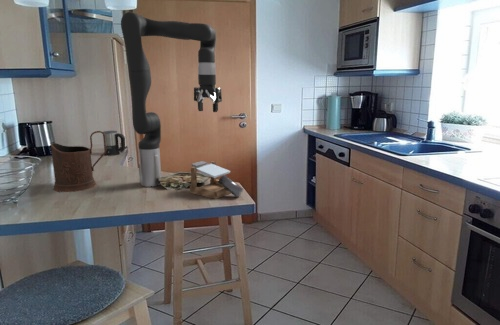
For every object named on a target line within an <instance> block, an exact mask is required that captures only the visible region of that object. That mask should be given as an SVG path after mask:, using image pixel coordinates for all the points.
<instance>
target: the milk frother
mask: <svg viewBox="0 0 500 325" xmlns="http://www.w3.org/2000/svg"><path fill="white" fill-rule="evenodd" d="M103 132H104V134H105V140H106V153H105V154H104V156H115V155H119V154H120V152H122V151H125V150H126V149H127V148H128V145H126V136H124V134H123V133H119V132H118V131H117V130H103ZM119 139H120V145H119ZM102 140H103V142H104V136H103V135H102ZM119 146H120V147H119ZM103 148H104V149H103V150H104V152H105V146H104V145H103ZM104 152H103V153H104Z"/></svg>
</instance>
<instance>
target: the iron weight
mask: <svg viewBox="0 0 500 325" xmlns="http://www.w3.org/2000/svg"><path fill="white" fill-rule="evenodd" d="M218 180H219V181H218V184H220V185H221V186H222V187H224V188H225V189H226V190H228V191H229V192H230V194H232V195H233V196H234V197H236V198H239V197H240V196H241V195H242V193H243V191H244V188H242V187H241V186H240V185H238V184H237V183H236V182H234V180H232V179H231V178H229V177H227V175H226V174H225V175H222V176H220V178H219V179H218Z"/></svg>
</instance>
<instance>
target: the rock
mask: <svg viewBox="0 0 500 325" xmlns="http://www.w3.org/2000/svg"><path fill="white" fill-rule="evenodd" d="M196 173H197V183H206V182H207V181H208V180H210V179H211V176H208V175H206V174H204V173H201V172H199V171H196ZM158 179H159V181H160V182H161V184H160V185H161V186H162V187H164V188H165V189H166V190H168V189H175V190H174V191H178V190H180V189H182V188H185V189H187V188H189V187H190V186H191V171H189V172H185V171H178V172H176V173H172V174H168V175H165V176H161V177H159V178H158Z"/></svg>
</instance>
